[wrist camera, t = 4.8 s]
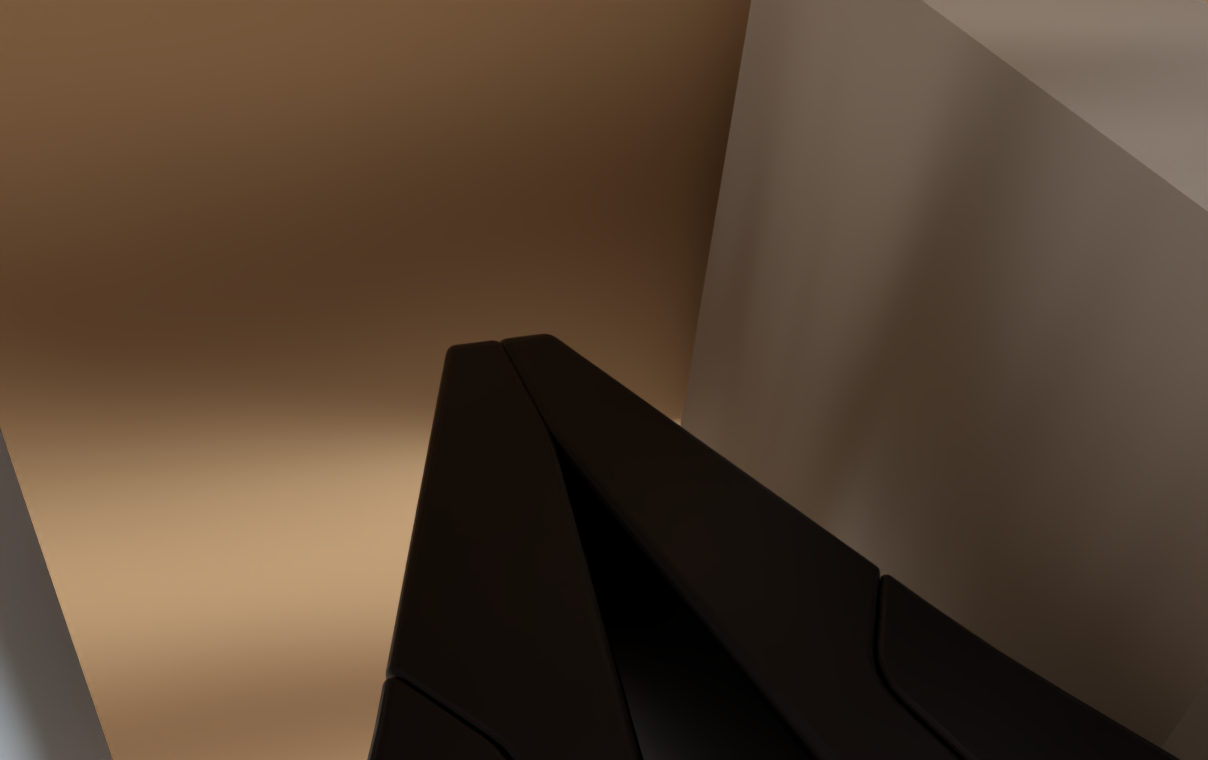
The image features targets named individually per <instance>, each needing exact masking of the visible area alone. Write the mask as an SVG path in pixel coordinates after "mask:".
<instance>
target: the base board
mask: <svg viewBox="0 0 1208 760" xmlns="http://www.w3.org/2000/svg"><path fill="white" fill-rule="evenodd" d="M1202 1H1204V2H1205V3H1207V4H1208V0H1202ZM750 5H751V0H0V429H1V432H2V435H3V438H4V441H5V444H6V447H7V450H8V453H9V456H10V458H11V461H12V464H13V467H14V470H15V473H16V476H17V479H18V482H19V485H20V488H21V491H22V494H23V497H24V500H25V503H26V506H27V509H28V512H29V515H30V517H31V520H32V523H33V526H34V529H35V532H36V535H37V538H38V541H39V544H40V547H41V550H42V553H43V556H44V559H45V562H46V565H47V568H48V571H49V573H50V576H51V579H52V582H53V585H54V588H55V591H56V594H57V597H58V600H59V603H60V606H61V609H62V612H63V615H64V618H65V621H66V624H67V627H68V630H69V632H70V635H71V638H72V641H73V644H74V647H75V650H76V653H77V656H78V659H79V662H80V665H81V668H82V671H83V674H84V677H85V680H86V683H87V686H88V688H89V691H90V694H91V697H92V700H93V703H94V706H95V709H96V712H97V715H98V718H99V721H100V724H101V727H102V730H103V733H104V736H105V739H106V742H107V744H108V747H109V750H110V753H111V756H112V759H113V760H367V759H368V754H369V750H370V746H371V741H372V737H373V733H374V728H375V722H376V717H377V711H378V706H379V701H380V695H381V690H382V685H383V683H384V681H385V680H386V668H387V662H388V657H389V652H390V646H391V641H392V636H393V630H394V625H395V620H396V615H397V609H398V604H399V599H400V593H401V588H402V583H403V577H404V572H405V567H406V562H407V556H408V551H409V546H410V540H411V535H412V530H413V524H414V519H415V514H416V509H417V503H418V498H419V493H420V487H421V482H422V477H423V471H424V466H425V461H426V456H427V450H428V445H429V440H430V434H431V429H432V424H433V418H434V413H435V408H436V403H437V397H438V392H439V387H440V381H441V376H442V371H443V365H444V360H445V355H446V352H447V350H448V348H450V347H451V346H453V345H457V344H465V343H473V342H481V341H489V340H495V341H498V342H500V341H502V340H503V339H505V338H512V337H520V336H528V335H535V334H550V335H553V336H555V337H556V338H558V339H559V340H561V341H562V342H564V343H565V344H566V345H568V346H569V347H571V348H572V349H573V350H575V351H576V352H578V353H579V354H580V355H582V356H583V357H585V358H586V359H587V360H589V361H590V362H592V363H593V364H594V365H596V366H597V367H599V368H600V369H601V370H603V371H604V372H606V373H607V374H608V375H610V376H611V377H613V378H614V379H615V380H617V381H618V382H620V383H621V384H622V385H624V386H625V387H627V388H628V389H629V390H631V391H632V392H634V393H635V394H636V395H638V396H639V397H641V398H642V399H643V400H645V401H646V402H648V403H649V404H650V405H652V406H653V407H655V408H656V409H657V410H659V411H660V412H662V413H663V414H664V415H666V416H667V417H669V418H670V419H671V420H673V421H674V422H676V423H677V424H678V425H680V426H681V420H682V414H683V408H684V402H685V396H686V390H687V384H688V378H689V372H690V366H691V360H692V354H693V348H694V342H695V336H696V330H697V324H698V318H699V312H700V306H701V300H702V294H703V288H704V282H705V276H706V270H707V264H708V258H709V252H710V246H711V240H712V234H713V228H714V222H715V216H716V210H717V204H718V198H719V192H720V186H721V180H722V174H723V168H724V162H725V155H726V149H727V143H728V137H729V131H730V125H731V119H732V113H733V107H734V101H735V95H736V89H737V83H738V77H739V71H740V65H741V59H742V53H743V47H744V41H745V35H746V29H747V23H748V17H749V11H750Z"/></svg>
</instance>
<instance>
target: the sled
mask: <svg viewBox="0 0 1208 760" xmlns="http://www.w3.org/2000/svg"><path fill="white" fill-rule="evenodd" d="M681 427H683V428H684V429H685V430H687V431H688V432H690V433H691V434H692V435H694V436H695V437H697V438H698V439H700V440H701V441H702V442H704V443H705V444H707V445H708V446H709V447H711V448H712V449H714V450H715V451H716V452H718V453H719V454H721V455H722V456H723V457H725V458H726V459H728V460H729V461H730V462H732V463H733V464H735V465H736V466H737V467H739V468H740V469H742V470H743V471H744V472H746V473H747V474H749V475H750V476H751V477H753V478H754V479H756V480H757V481H758V482H760V483H761V484H763V485H764V486H765V487H767V488H768V489H770V490H771V491H772V492H774V493H775V494H777V495H778V496H779V497H781V498H782V499H784V500H785V501H786V502H788V503H789V504H791V505H792V506H793V507H795V508H796V509H798V510H799V511H800V512H802V513H803V514H805V515H806V516H807V517H809V518H810V519H812V520H813V521H814V522H816V523H817V524H819V525H820V526H821V527H823V528H824V529H826V530H827V531H828V532H830V533H831V534H833V535H834V536H835V537H837V538H838V539H840V540H841V541H842V542H844V543H845V544H847V545H848V546H849V547H851V548H852V549H854V550H855V551H856V552H858V553H859V554H861V555H862V556H864V557H865V558H866V559H868V560H869V561H871V562H872V563H873V564H875V565H876V566H877V567H878V568H879V569H880V577H881V576H882V575H885V574H888V575H891V576H892V577H894V578H895V579H896V580H898V581H899V582H901V583H902V584H903V585H905V586H906V587H908V588H909V589H910V590H912V591H913V592H915V593H916V594H917V595H919V596H920V597H922V598H923V599H924V600H926V601H927V602H929V603H930V604H932V605H933V606H934V607H936V608H937V609H939V610H940V611H942V612H943V613H945V614H946V615H948V616H949V617H951V618H952V619H954V620H955V621H957V622H958V623H960V624H961V625H962V626H964V627H965V628H967V629H968V630H970V631H971V632H973V633H974V634H976V635H977V636H979V637H980V638H982V639H983V640H985V641H986V642H988V643H989V644H990V645H992V646H993V647H995V648H996V649H998V650H1000V651H1001V652H1003V653H1004V654H1006V655H1008V656H1009V657H1011V658H1013V659H1014V660H1016V661H1017V662H1019V663H1021V664H1022V665H1024V666H1026V667H1027V668H1029V669H1030V670H1032V671H1034V672H1035V673H1037V674H1038V675H1040V676H1042V677H1043V678H1045V679H1047V680H1048V681H1050V682H1051V683H1053V684H1055V685H1056V686H1058V687H1059V688H1061V689H1063V690H1064V691H1066V692H1068V693H1069V694H1071V695H1072V696H1074V697H1076V698H1078V699H1079V700H1081V701H1083V702H1084V703H1086V704H1088V705H1089V706H1091V707H1093V708H1094V709H1096V710H1098V711H1100V712H1101V713H1103V714H1105V715H1106V716H1108V717H1110V718H1111V719H1113V720H1115V721H1116V722H1118V723H1120V724H1122V725H1123V726H1125V727H1127V728H1128V729H1130V730H1132V731H1133V732H1135V733H1137V734H1138V735H1140V736H1142V737H1144V738H1145V739H1147V740H1149V741H1150V742H1152V743H1154V744H1155V745H1157V746H1159V747H1160V748H1162V749H1164V750H1166V751H1167V752H1169V753H1171V754H1172V755H1174V756H1176V757H1177V758H1179V759H1181V760H1208V4H1207V3H1205V2H1204V1H1202V0H751V5H750V11H749V17H748V23H747V29H746V35H745V41H744V47H743V53H742V59H741V65H740V71H739V77H738V83H737V89H736V95H735V101H734V107H733V113H732V119H731V125H730V131H729V137H728V143H727V149H726V155H725V162H724V168H723V174H722V180H721V186H720V192H719V198H718V204H717V210H716V216H715V222H714V228H713V234H712V240H711V246H710V252H709V258H708V264H707V270H706V276H705V282H704V288H703V294H702V300H701V306H700V312H699V318H698V324H697V330H696V336H695V342H694V348H693V354H692V360H691V366H690V372H689V378H688V384H687V390H686V396H685V402H684V408H683V414H682V420H681Z"/></svg>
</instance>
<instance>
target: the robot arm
mask: <svg viewBox="0 0 1208 760" xmlns="http://www.w3.org/2000/svg"><path fill="white" fill-rule="evenodd" d="M367 760H1181V759H1179V758H1177V757H1176V756H1174V755H1172V754H1171V753H1169V752H1167V751H1166V750H1164V749H1162V748H1160V747H1159V746H1157V745H1155V744H1154V743H1152V742H1150V741H1149V740H1147V739H1145V738H1144V737H1142V736H1140V735H1138V734H1137V733H1135V732H1133V731H1132V730H1130V729H1128V728H1127V727H1125V726H1123V725H1122V724H1120V723H1118V722H1116V721H1115V720H1113V719H1111V718H1110V717H1108V716H1106V715H1105V714H1103V713H1101V712H1100V711H1098V710H1096V709H1094V708H1093V707H1091V706H1089V705H1088V704H1086V703H1084V702H1083V701H1081V700H1079V699H1078V698H1076V697H1074V696H1072V695H1071V694H1069V693H1068V692H1066V691H1064V690H1063V689H1061V688H1059V687H1058V686H1056V685H1055V684H1053V683H1051V682H1050V681H1048V680H1047V679H1045V678H1043V677H1042V676H1040V675H1038V674H1037V673H1035V672H1034V671H1032V670H1030V669H1029V668H1027V667H1026V666H1024V665H1022V664H1021V663H1019V662H1017V661H1016V660H1014V659H1013V658H1011V657H1009V656H1008V655H1006V654H1004V653H1003V652H1001V651H1000V650H998V649H996V648H995V647H993V646H992V645H990V644H989V643H988V642H986V641H985V640H983V639H982V638H980V637H979V636H977V635H976V634H974V633H973V632H971V631H970V630H968V629H967V628H965V627H964V626H962V625H961V624H960V623H958V622H957V621H955V620H954V619H952V618H951V617H949V616H948V615H946V614H945V613H943V612H942V611H940V610H939V609H937V608H936V607H934V606H933V605H932V604H930V603H929V602H927V601H926V600H924V599H923V598H922V597H920V596H919V595H917V594H916V593H915V592H913V591H912V590H910V589H909V588H908V587H906V586H905V585H903V584H902V583H901V582H899V581H898V580H896V579H895V578H894V577H892V576H891V575H888V574H885V575H882V576H881V577H880V569H879V568H878V567H877V566H876V565H875V564H873V563H872V562H871V561H869V560H868V559H866V558H865V557H864V556H862V555H861V554H859V553H858V552H856V551H855V550H854V549H852V548H851V547H849V546H848V545H847V544H845V543H844V542H842V541H841V540H840V539H838V538H837V537H835V536H834V535H833V534H831V533H830V532H828V531H827V530H826V529H824V528H823V527H821V526H820V525H819V524H817V523H816V522H814V521H813V520H812V519H810V518H809V517H807V516H806V515H805V514H803V513H802V512H800V511H799V510H798V509H796V508H795V507H793V506H792V505H791V504H789V503H788V502H786V501H785V500H784V499H782V498H781V497H779V496H778V495H777V494H775V493H774V492H772V491H771V490H770V489H768V488H767V487H765V486H764V485H763V484H761V483H760V482H758V481H757V480H756V479H754V478H753V477H751V476H750V475H749V474H747V473H746V472H744V471H743V470H742V469H740V468H739V467H737V466H736V465H735V464H733V463H732V462H730V461H729V460H728V459H726V458H725V457H723V456H722V455H721V454H719V453H718V452H716V451H715V450H714V449H712V448H711V447H709V446H708V445H707V444H705V443H704V442H702V441H701V440H700V439H698V438H697V437H695V436H694V435H692V434H691V433H690V432H688V431H687V430H685V429H684V428H683V427H681V426H680V425H678V424H677V423H676V422H674V421H673V420H671V419H670V418H669V417H667V416H666V415H664V414H663V413H662V412H660V411H659V410H657V409H656V408H655V407H653V406H652V405H650V404H649V403H648V402H646V401H645V400H643V399H642V398H641V397H639V396H638V395H636V394H635V393H634V392H632V391H631V390H629V389H628V388H627V387H625V386H624V385H622V384H621V383H620V382H618V381H617V380H615V379H614V378H613V377H611V376H610V375H608V374H607V373H606V372H604V371H603V370H601V369H600V368H599V367H597V366H596V365H594V364H593V363H592V362H590V361H589V360H587V359H586V358H585V357H583V356H582V355H580V354H579V353H578V352H576V351H575V350H573V349H572V348H571V347H569V346H568V345H566V344H565V343H564V342H562V341H561V340H559V339H558V338H556V337H555V336H553V335H550V334H535V335H528V336H520V337H512V338H505V339H503V340H502V341H500V342H498V341H495V340H489V341H481V342H473V343H465V344H457V345H453V346H451V347H450V348H448V350H447V352H446V355H445V360H444V365H443V371H442V376H441V381H440V387H439V392H438V397H437V403H436V408H435V413H434V418H433V424H432V429H431V434H430V440H429V445H428V450H427V456H426V461H425V466H424V471H423V477H422V482H421V487H420V493H419V498H418V503H417V509H416V514H415V519H414V524H413V530H412V535H411V540H410V546H409V551H408V556H407V562H406V567H405V572H404V577H403V583H402V588H401V593H400V599H399V604H398V609H397V615H396V620H395V625H394V630H393V636H392V641H391V646H390V652H389V657H388V662H387V668H386V680H385V681H384V683H383V685H382V690H381V695H380V701H379V706H378V711H377V717H376V722H375V728H374V733H373V737H372V741H371V746H370V750H369V754H368V759H367Z"/></svg>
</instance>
